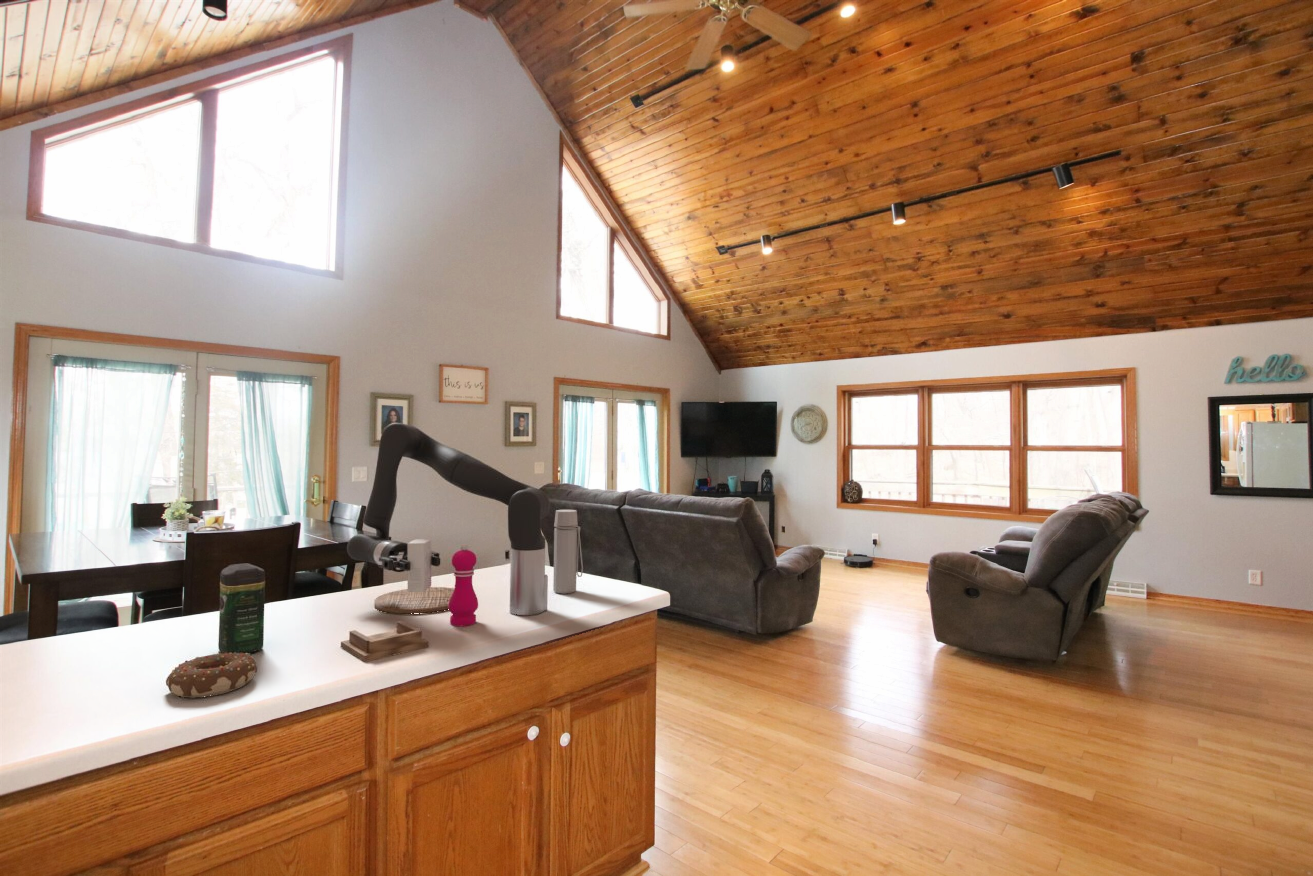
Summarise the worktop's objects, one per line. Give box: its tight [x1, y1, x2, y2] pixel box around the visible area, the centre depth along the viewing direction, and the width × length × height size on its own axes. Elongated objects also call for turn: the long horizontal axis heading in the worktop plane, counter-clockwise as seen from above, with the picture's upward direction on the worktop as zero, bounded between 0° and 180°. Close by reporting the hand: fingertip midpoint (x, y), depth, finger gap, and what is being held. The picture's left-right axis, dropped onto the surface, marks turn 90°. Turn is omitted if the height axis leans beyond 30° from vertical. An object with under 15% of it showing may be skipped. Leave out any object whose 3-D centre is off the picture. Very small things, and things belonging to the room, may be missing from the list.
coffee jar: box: [217, 562, 266, 655], centre depth 137 cm, size 10×8×19 cm
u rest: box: [340, 620, 429, 663], centre depth 141 cm, size 14×13×4 cm
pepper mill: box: [448, 543, 479, 627], centre depth 160 cm, size 7×7×20 cm
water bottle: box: [552, 509, 584, 595], centre depth 195 cm, size 9×8×25 cm
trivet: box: [373, 586, 455, 615], centre depth 179 cm, size 25×25×2 cm
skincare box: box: [407, 538, 432, 592], centre depth 156 cm, size 6×4×12 cm
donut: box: [165, 652, 258, 699], centre depth 117 cm, size 14×14×5 cm
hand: (423, 564), depth 154 cm, fingers closed on skincare box, 7 cm apart
